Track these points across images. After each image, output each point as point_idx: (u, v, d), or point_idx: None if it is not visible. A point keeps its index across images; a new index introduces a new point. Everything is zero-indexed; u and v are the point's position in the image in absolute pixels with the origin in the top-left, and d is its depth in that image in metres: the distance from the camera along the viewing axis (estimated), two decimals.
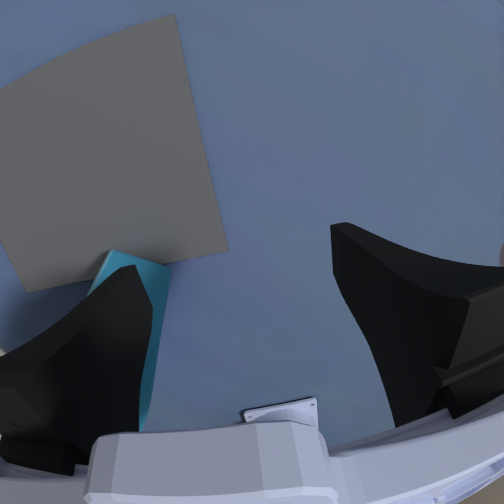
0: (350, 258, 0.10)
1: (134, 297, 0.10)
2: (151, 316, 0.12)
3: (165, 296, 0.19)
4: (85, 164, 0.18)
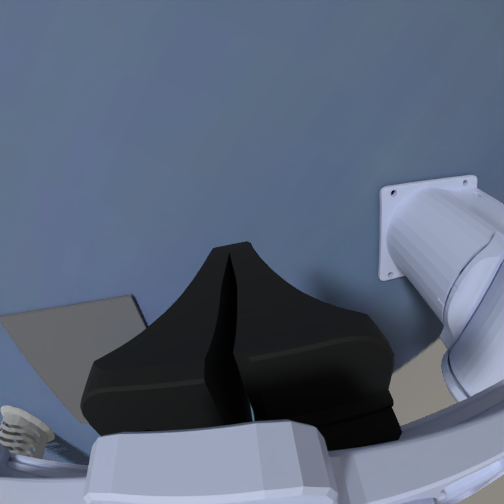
0: None
1: (235, 278, 0.10)
2: None
3: None
4: (88, 369, 0.28)
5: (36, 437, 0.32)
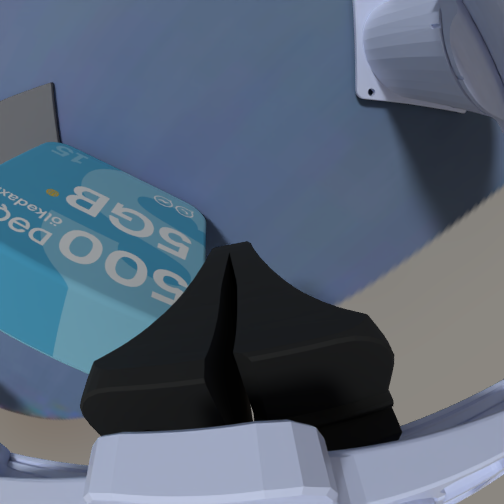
0: None
1: (235, 278, 0.10)
2: None
3: (23, 153, 0.14)
4: None
5: None
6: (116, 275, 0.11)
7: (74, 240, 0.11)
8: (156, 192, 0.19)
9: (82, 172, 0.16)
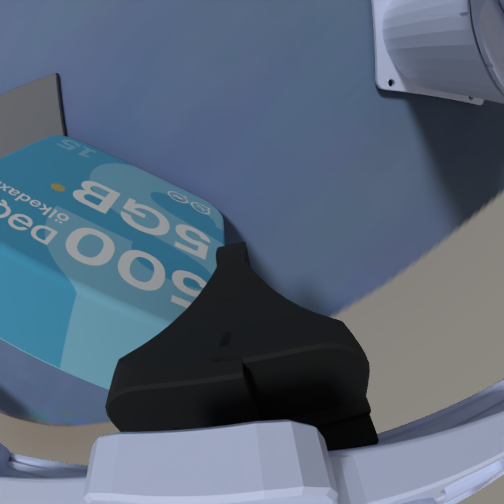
0: None
1: None
2: None
3: (26, 146, 0.13)
4: None
5: None
6: (131, 278, 0.10)
7: (82, 238, 0.10)
8: (169, 187, 0.18)
9: (89, 166, 0.15)
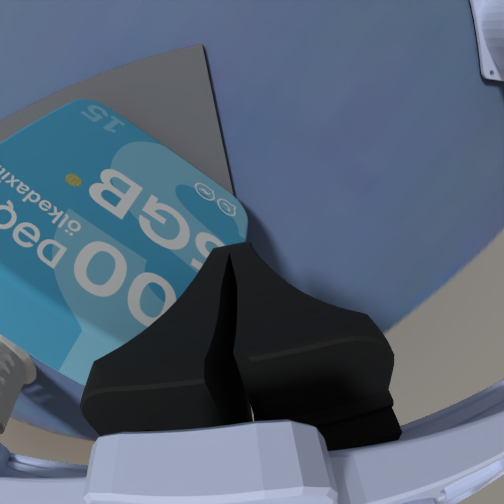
0: None
1: (235, 278, 0.10)
2: None
3: (45, 115, 0.12)
4: None
5: (8, 366, 0.23)
6: (139, 312, 0.10)
7: (93, 258, 0.09)
8: (198, 178, 0.17)
9: (113, 147, 0.14)
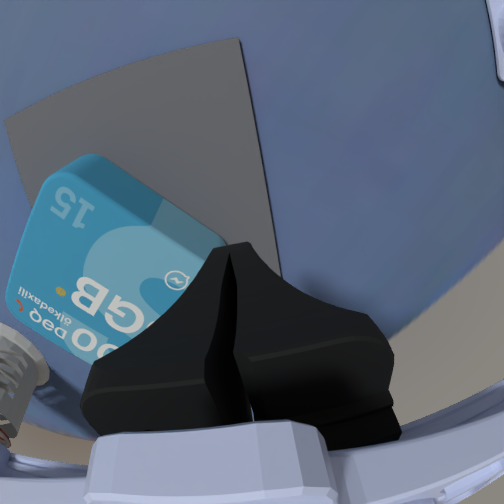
0: None
1: (235, 278, 0.10)
2: None
3: (27, 223, 0.15)
4: None
5: (21, 368, 0.23)
6: None
7: (79, 336, 0.18)
8: (174, 264, 0.16)
9: (84, 250, 0.16)
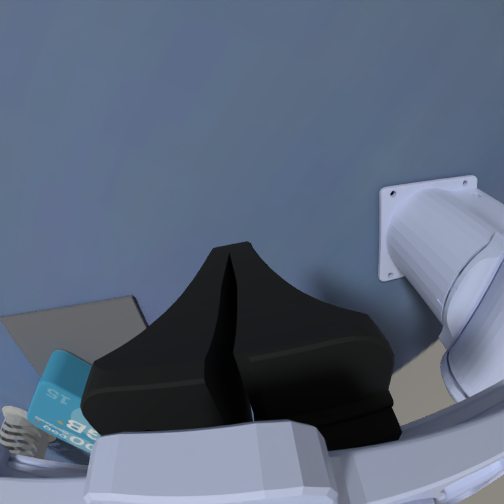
0: None
1: (235, 278, 0.10)
2: None
3: (34, 395, 0.24)
4: None
5: (37, 437, 0.32)
6: (88, 448, 0.28)
7: (74, 439, 0.27)
8: None
9: (69, 411, 0.24)
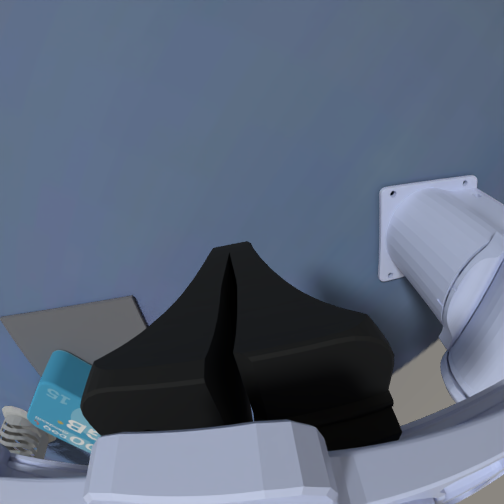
0: None
1: (235, 278, 0.10)
2: None
3: (34, 395, 0.24)
4: None
5: (38, 437, 0.32)
6: (88, 448, 0.28)
7: (74, 439, 0.27)
8: None
9: (69, 411, 0.24)
